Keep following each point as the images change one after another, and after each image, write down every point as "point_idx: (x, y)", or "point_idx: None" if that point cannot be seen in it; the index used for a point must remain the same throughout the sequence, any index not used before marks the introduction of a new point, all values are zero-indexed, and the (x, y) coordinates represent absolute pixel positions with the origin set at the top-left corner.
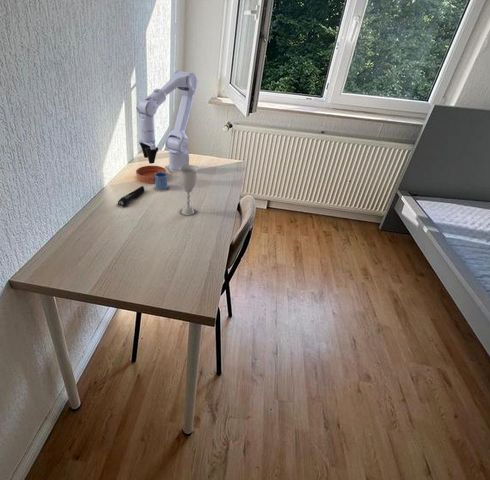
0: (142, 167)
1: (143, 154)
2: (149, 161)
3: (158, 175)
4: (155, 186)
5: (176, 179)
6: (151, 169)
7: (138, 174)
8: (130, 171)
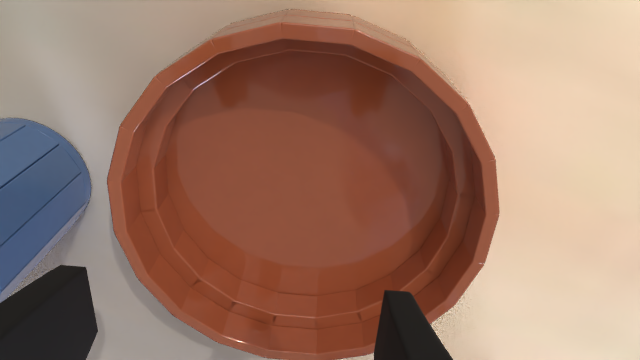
0: (480, 175)
1: (425, 323)
2: (21, 290)
3: (6, 237)
4: (5, 128)
5: (197, 347)
6: (436, 250)
7: (253, 35)
8: (624, 30)
